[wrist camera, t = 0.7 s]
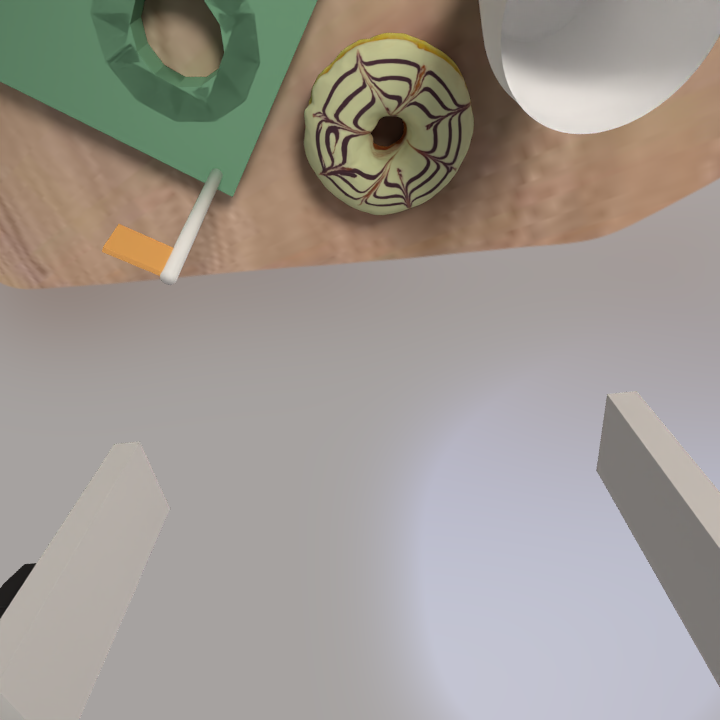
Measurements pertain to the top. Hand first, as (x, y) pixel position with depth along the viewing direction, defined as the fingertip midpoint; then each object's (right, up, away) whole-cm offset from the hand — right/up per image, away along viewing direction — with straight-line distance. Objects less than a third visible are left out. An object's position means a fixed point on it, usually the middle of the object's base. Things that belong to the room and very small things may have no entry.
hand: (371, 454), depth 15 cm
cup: (+9, +24, +14) cm, 29 cm away
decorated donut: (+1, +19, +19) cm, 27 cm away
